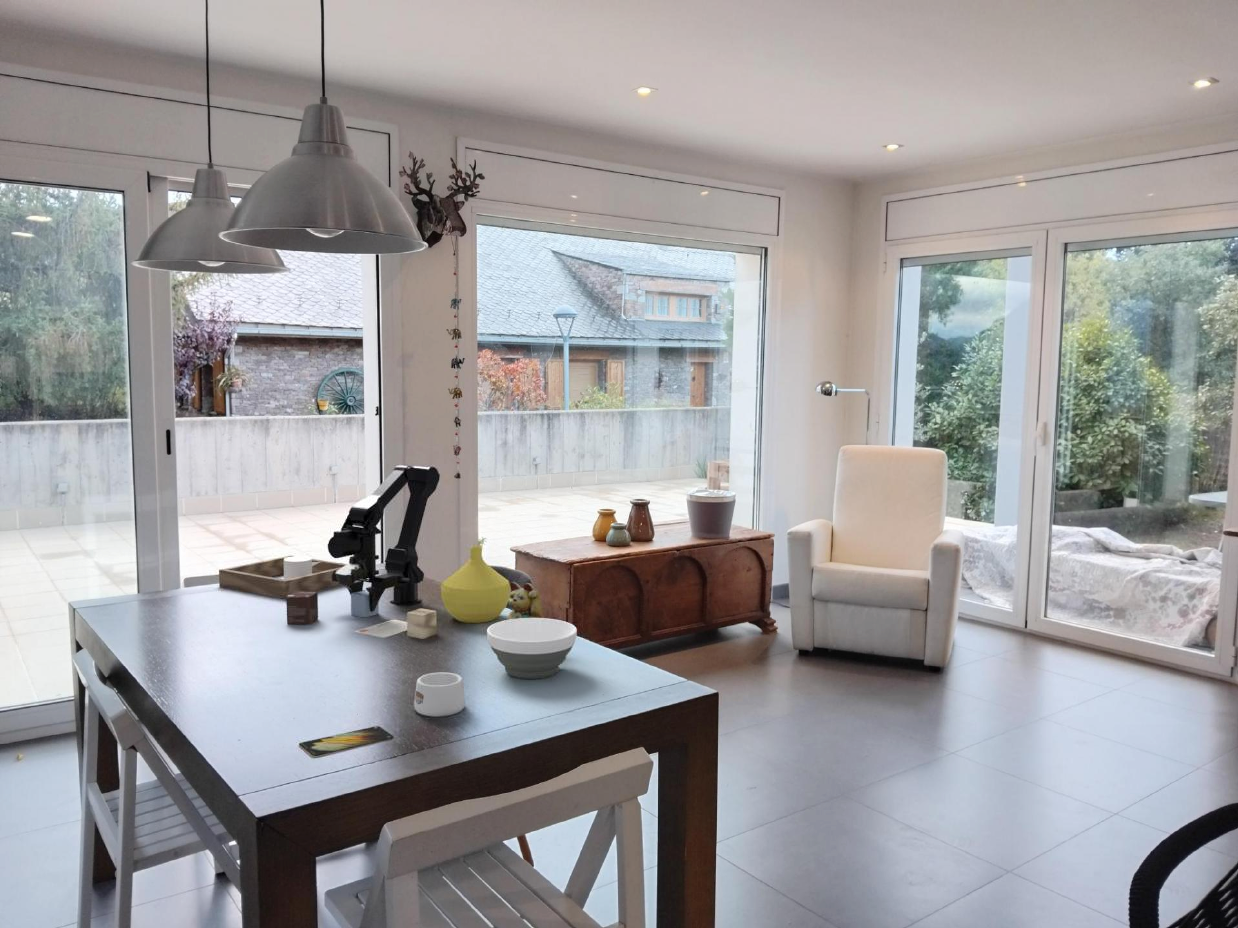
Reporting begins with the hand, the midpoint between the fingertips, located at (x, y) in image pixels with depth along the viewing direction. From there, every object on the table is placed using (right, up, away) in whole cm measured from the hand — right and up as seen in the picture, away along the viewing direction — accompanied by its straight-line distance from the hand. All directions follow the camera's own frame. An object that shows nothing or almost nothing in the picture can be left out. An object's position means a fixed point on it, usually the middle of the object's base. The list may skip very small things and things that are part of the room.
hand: (364, 609), depth 254 cm
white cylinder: (-30, +2, +35) cm, 46 cm away
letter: (+10, -3, -13) cm, 17 cm away
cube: (0, -1, 0) cm, 1 cm away
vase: (+30, -2, -2) cm, 30 cm away
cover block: (+19, -3, -19) cm, 27 cm away
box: (-14, -2, -8) cm, 16 cm away
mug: (+32, -9, -68) cm, 76 cm away
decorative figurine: (+45, -5, -23) cm, 51 cm away
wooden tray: (-32, +3, +34) cm, 47 cm away
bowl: (+49, -7, -45) cm, 67 cm away
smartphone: (+20, -11, -86) cm, 89 cm away
